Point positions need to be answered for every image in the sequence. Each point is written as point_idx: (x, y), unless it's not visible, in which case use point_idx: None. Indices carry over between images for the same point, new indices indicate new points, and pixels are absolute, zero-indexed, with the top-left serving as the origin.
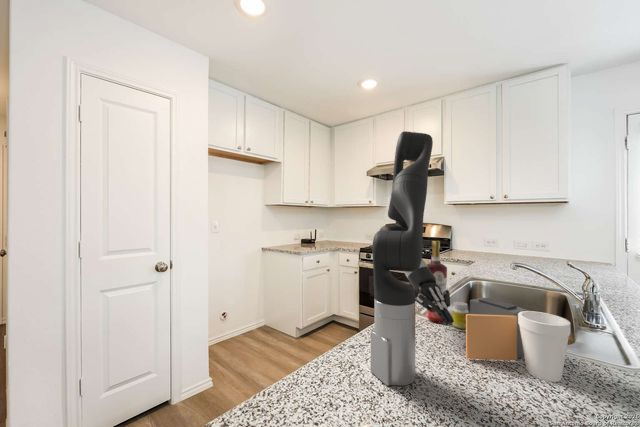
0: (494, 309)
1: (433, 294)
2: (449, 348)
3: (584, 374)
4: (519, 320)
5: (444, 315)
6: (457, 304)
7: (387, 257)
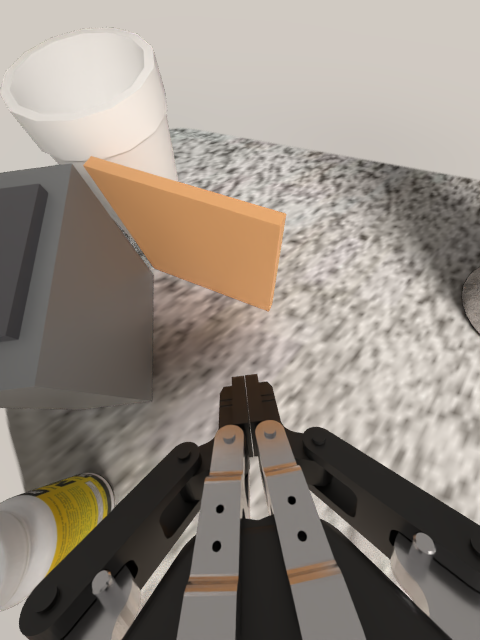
0: (68, 242)
1: (308, 543)
2: (266, 379)
3: None
4: (137, 120)
5: (268, 402)
6: (4, 562)
7: None
